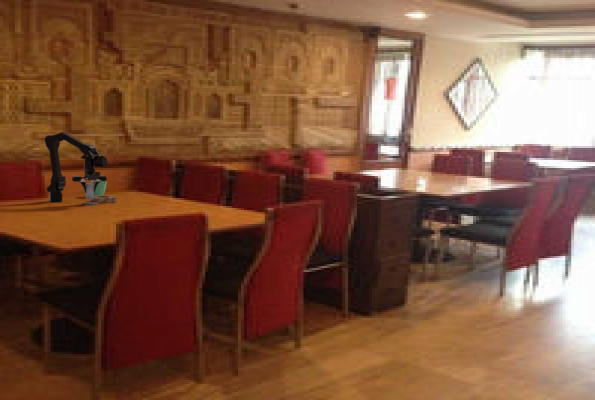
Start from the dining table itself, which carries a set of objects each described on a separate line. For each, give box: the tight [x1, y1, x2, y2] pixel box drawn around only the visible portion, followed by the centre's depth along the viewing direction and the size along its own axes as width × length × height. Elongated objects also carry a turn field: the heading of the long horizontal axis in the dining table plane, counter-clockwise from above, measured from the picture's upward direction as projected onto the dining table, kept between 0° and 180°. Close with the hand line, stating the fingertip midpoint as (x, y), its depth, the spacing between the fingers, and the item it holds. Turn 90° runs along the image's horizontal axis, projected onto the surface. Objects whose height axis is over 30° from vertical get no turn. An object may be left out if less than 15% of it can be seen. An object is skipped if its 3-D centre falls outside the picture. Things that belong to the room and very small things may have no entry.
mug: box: [90, 180, 108, 196], centre depth 406 cm, size 15×10×10 cm
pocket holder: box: [90, 194, 117, 204], centre depth 383 cm, size 12×12×3 cm
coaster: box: [81, 201, 99, 206], centre depth 371 cm, size 9×9×1 cm
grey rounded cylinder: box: [85, 182, 94, 200], centre depth 370 cm, size 4×4×9 cm
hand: (89, 193), depth 370 cm, fingers closed on grey rounded cylinder, 4 cm apart
